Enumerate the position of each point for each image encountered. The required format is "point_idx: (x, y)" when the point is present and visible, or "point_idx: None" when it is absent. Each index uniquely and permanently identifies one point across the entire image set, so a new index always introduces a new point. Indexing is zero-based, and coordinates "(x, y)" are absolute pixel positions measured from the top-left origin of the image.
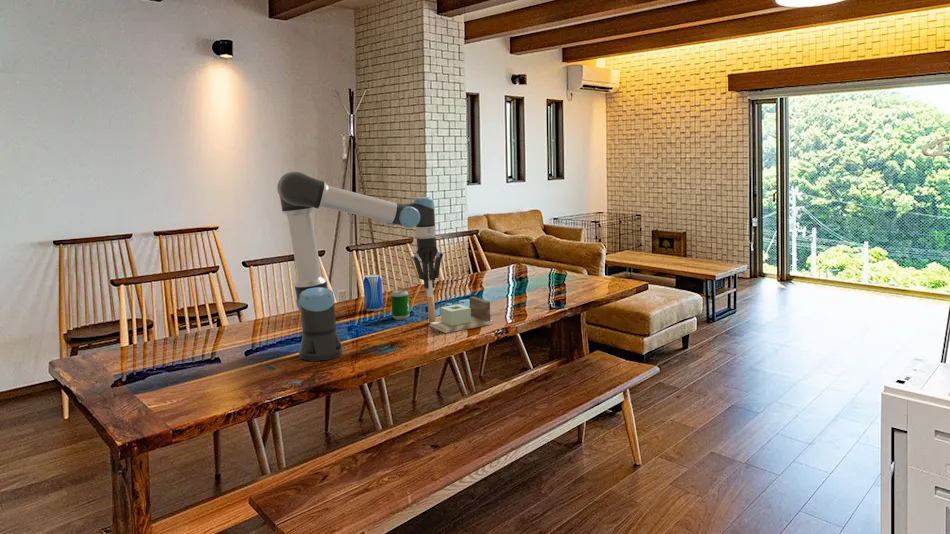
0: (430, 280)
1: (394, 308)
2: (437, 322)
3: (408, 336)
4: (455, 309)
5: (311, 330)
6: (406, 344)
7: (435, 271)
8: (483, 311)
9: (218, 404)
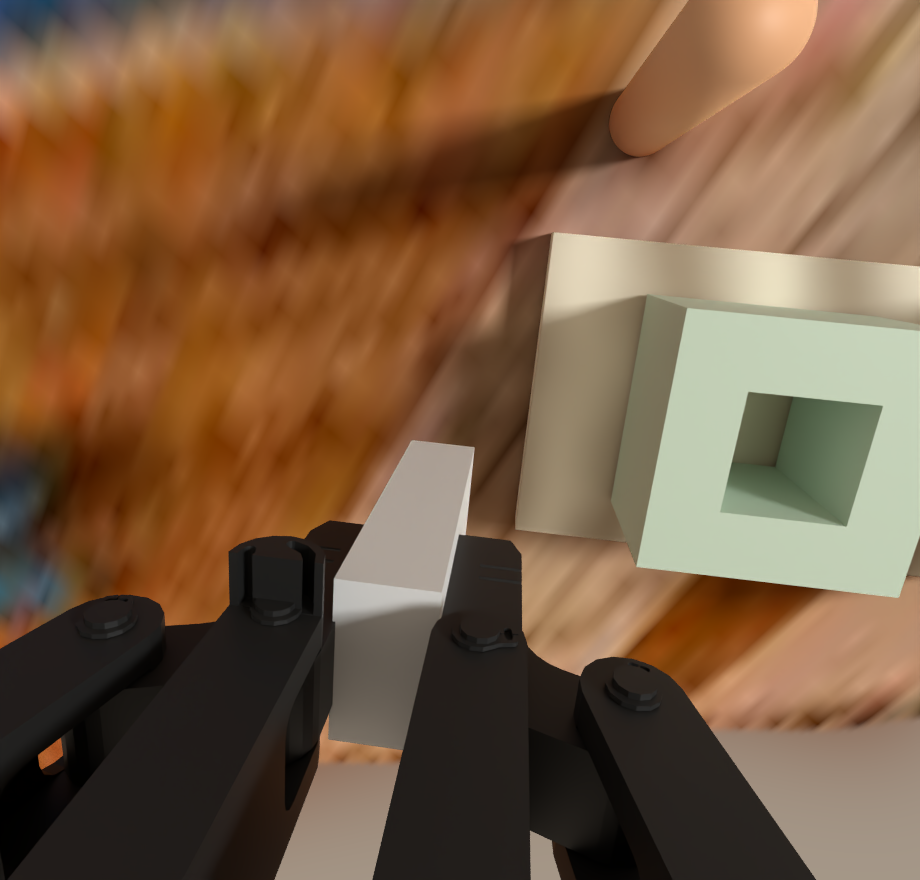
0: (393, 724)
1: None
2: (611, 279)
3: (237, 392)
4: (736, 530)
5: None
6: (143, 560)
7: (695, 860)
8: None
9: None
